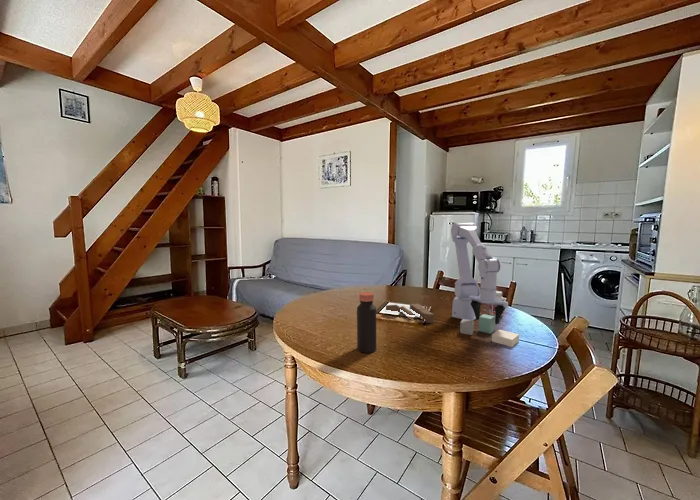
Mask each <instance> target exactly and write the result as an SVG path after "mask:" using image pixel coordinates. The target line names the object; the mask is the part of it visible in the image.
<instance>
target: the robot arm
mask: <svg viewBox="0 0 700 500" xmlns="http://www.w3.org/2000/svg"><path fill="white" fill-rule="evenodd" d="M477 232H478V227H477V225H476V223H475V222H472V221H471V222H454V223H452V225H451V228H450V234H451V235H450V236H451V240H452V242H453V243H454V245H455V253H456V260H457V267H458V274H459V278H458V279H456V281H455V282H454V295H455V297H454V298H453V300H452V306H451V307H452V315H451V317H452V318H456V319H461V320H462V319H466V320H473V321H475V320H476V321H477V320H478V321H479V316H481V306H482V305H481V304H486V305H489V304H491V305H497V306H496V307H495V315H496V316H495V325H499V324H500V320H501V317H502V316H501V315H502V313H503V314H504V312H503V311H505V309H506V308H508V307H509V302H508V301H505V300H504V301H502V300H498V299H496V291H497V275H498V273H499V272H500V270H501V262H500V261H499V260H500V259H498V258H497V257H495V256H492V254H491V252H490V250H489V249H488V247H487V245H485V244H482V241H481V240H480V238H479V236H478V233H477ZM468 243H469V244H470V246H471V247H472V248H473V250H472V253H473V256H474V257H475V259H476V261H477V262H478V264H477V268H478V269H477V270H478V271H479V273H478V274H479V277H480V286H479V283H478V280H477V279H475V278H474V277H472V270H471V265H470V264H471V263H470V256H469V252H468V251H469V249H468Z"/></svg>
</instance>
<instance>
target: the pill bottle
mask: <svg viewBox="0 0 700 500" xmlns="http://www.w3.org/2000/svg"><path fill="white" fill-rule="evenodd" d="M496 299H498V300H502V301H505V300H504V299H505V298H504V297H503V291H501V290H500V291H499V290H496ZM488 305H489V306H488V315H491V316H495V317H496V315H495V307H496V306H497V305H491V304H488ZM504 311H505V310H504ZM504 311H503V313H502V315H501V317H503V316H504Z"/></svg>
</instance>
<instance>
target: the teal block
mask: <svg viewBox="0 0 700 500" xmlns="http://www.w3.org/2000/svg"><path fill="white" fill-rule="evenodd" d="M495 317H496V316H493V315H490V314H485V313H483V314H480V316H479V319H478V331H479V332H482V333H486V334H491V335H492V334H493V333H495V332H496V330H495V328H496V324H495Z"/></svg>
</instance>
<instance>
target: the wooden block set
mask: <svg viewBox="0 0 700 500" xmlns="http://www.w3.org/2000/svg"><path fill="white" fill-rule="evenodd" d="M400 309H401V310H403V311H404V312H406V313H407V314H409V315H415V314H413V313H412V312H411V311H410V309H412V310H413V311H415V312H416V313H418V314H420V315H421V316H422V317H423V318H424V319H425V320H426V322H425V323H427V324H434V323H435V314H434V312H431V311H429V310H428V309H427V308H426V307H424V306H423V305H421V304H419V303H410V304H409V309H408V308H406V307H405V306H404V305H402V306H399V305H398V304H386V305H385V311H386V310H391V311H398V312H400ZM400 313H401V312H400Z"/></svg>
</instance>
